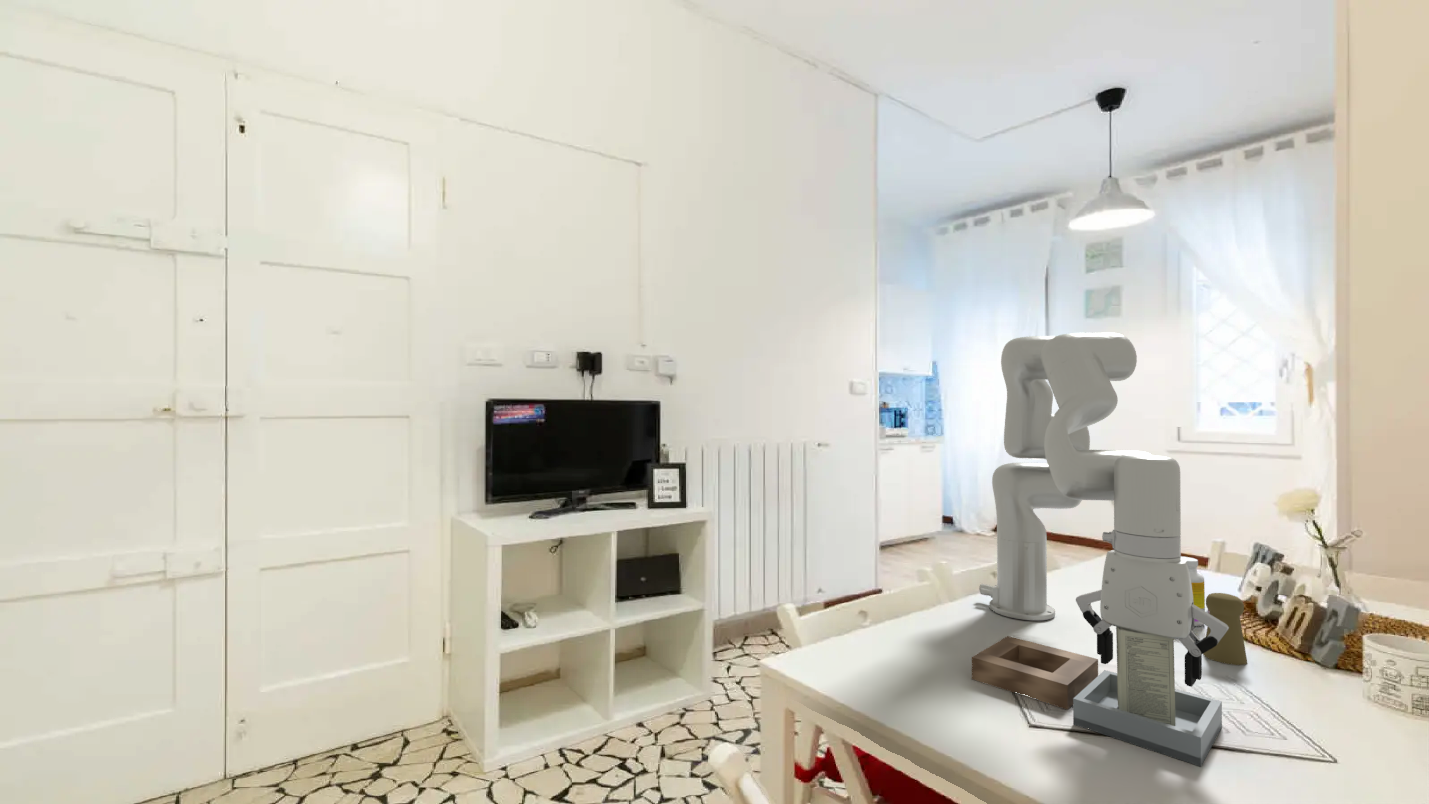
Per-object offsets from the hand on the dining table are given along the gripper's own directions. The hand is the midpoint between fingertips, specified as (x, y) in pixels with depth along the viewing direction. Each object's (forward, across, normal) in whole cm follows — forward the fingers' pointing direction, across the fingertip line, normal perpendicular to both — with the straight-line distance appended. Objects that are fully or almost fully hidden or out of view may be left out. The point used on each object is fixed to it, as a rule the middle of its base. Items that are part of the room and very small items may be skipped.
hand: (1147, 671), depth 86 cm
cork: (+7, +3, +38) cm, 39 cm away
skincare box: (+6, 0, 0) cm, 7 cm away
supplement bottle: (+7, -6, +56) cm, 57 cm away
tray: (+7, 0, 0) cm, 7 cm away
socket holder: (+7, -16, +4) cm, 18 cm away
